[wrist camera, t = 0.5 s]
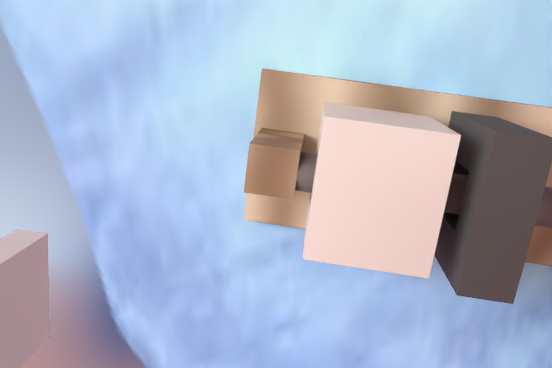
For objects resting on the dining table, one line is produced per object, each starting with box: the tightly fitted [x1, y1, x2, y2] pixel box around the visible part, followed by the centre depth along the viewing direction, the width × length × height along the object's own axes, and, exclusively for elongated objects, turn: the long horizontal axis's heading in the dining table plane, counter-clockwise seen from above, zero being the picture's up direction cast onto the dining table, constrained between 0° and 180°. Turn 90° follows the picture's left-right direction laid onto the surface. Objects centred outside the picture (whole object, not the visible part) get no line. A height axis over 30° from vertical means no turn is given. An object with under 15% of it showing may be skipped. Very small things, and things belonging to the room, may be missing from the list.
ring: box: [434, 111, 552, 304], centre depth 31 cm, size 3×9×9 cm, turn 172°
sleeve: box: [303, 102, 461, 278], centre depth 31 cm, size 7×8×8 cm
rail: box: [244, 69, 552, 266], centre depth 33 cm, size 30×11×8 cm, turn 83°
